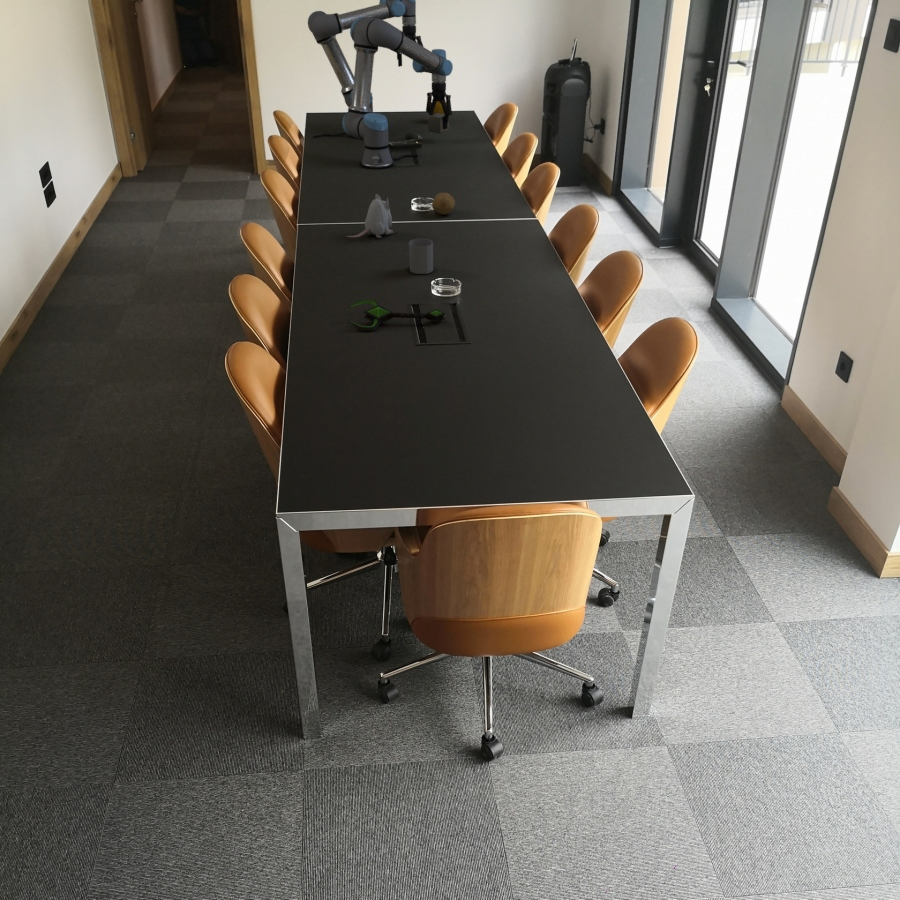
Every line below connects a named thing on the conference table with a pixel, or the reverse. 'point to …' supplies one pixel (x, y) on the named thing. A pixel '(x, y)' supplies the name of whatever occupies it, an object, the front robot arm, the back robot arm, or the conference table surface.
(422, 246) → the cup
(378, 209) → the toy
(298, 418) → the conference table surface
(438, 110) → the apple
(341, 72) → the back robot arm
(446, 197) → the potato
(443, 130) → the gray cube
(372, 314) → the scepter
